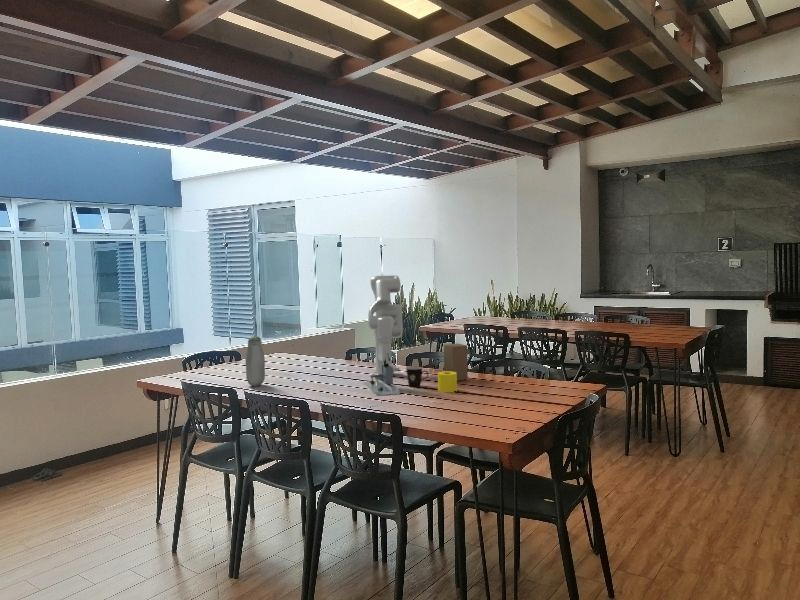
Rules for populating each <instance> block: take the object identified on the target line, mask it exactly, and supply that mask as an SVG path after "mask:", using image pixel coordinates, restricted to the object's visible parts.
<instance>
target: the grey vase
mask: <svg viewBox="0 0 800 600" xmlns="http://www.w3.org/2000/svg"><path fill="white" fill-rule="evenodd" d="M262 343H263V342H262V339H261V337H260V336H257V335H254V336H253V335H252V336H250V337H249V339H247V349H246V354H245V372H246V373H245V374H246V376H245V377H246V381H247V383H248V384H249V386H252V387H258V386H261V385H262V384H263V383H264V381H265V378H266V371H265V370H266V368H265V367H266V366H265V365H266V361H265V358H266V357H265V354H264V350H263V344H262Z"/></svg>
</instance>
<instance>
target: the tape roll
mask: <svg viewBox="0 0 800 600" xmlns="http://www.w3.org/2000/svg"><path fill="white" fill-rule="evenodd" d="M456 390H457V391H458V381H457V373H456V372H451V371H444V370H443V371H439V372H437V392H439V391H442V392H452V393H455V392H454V391H456ZM457 391H456V392H457ZM442 392H441V393H442Z"/></svg>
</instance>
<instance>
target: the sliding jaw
mask: <svg viewBox="0 0 800 600" xmlns="http://www.w3.org/2000/svg"><path fill="white" fill-rule="evenodd" d="M374 379H375V381H376V383H377V385H378V381H379V380H378V379H383V383H385V384H391V385H393V384H394V375H393V366H392V367H391V366H383V377H374Z"/></svg>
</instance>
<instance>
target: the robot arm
mask: <svg viewBox="0 0 800 600" xmlns="http://www.w3.org/2000/svg"><path fill="white" fill-rule="evenodd" d="M370 287H371V290H372V292H373V296H374V300H375V301H374V302H373V303H372V305H371V306H370V308H369V309H368V314H367V315H368V316H367V317H368V320H367V321H368V327H369V328H370V329H371V330H373V335H374V341H375V342H374V343H375V371H374V372H373V375H378V374H383V366H391V367H393V366H392V343H393V341H392V339H399V338H402V337H403V332H404V331H403V329H404V327H403V310H402V307H401V305H400V304H397V303H396V304H395V303H393V304H392V303H391V299H392V298H391V293H394V294H395V293H400V291H401V279H400V277H399V276H398V275H375V276H372V277H371V278H370ZM374 314H375V315H374ZM398 371H399V372H400V367H393V374H394V375H395V372H398Z"/></svg>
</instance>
